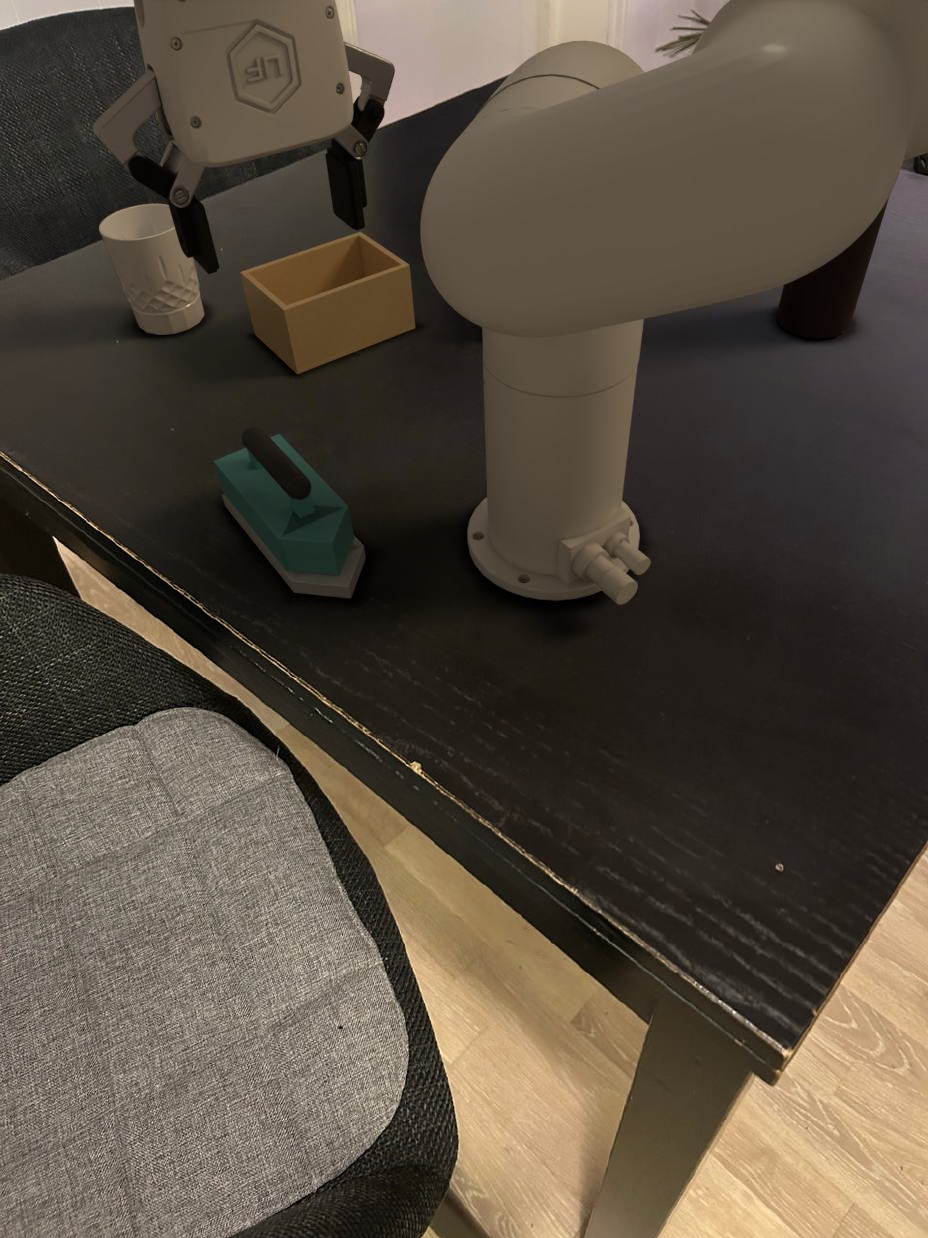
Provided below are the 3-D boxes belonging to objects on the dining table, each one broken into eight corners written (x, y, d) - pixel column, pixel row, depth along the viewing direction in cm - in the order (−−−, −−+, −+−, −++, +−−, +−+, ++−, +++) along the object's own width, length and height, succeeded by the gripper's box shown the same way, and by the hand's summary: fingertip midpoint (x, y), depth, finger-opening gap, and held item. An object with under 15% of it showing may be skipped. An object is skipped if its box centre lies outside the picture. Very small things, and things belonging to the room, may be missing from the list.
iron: (225, 506, 70) (199, 427, 64) (292, 476, 72) (273, 398, 66) (313, 617, 61) (293, 538, 55) (387, 580, 63) (374, 500, 58)
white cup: (117, 331, 89) (81, 233, 81) (162, 295, 94) (132, 199, 86) (182, 344, 87) (151, 244, 79) (225, 305, 91) (199, 208, 84)
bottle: (784, 299, 87) (838, 71, 72) (855, 311, 85) (926, 79, 70) (768, 332, 83) (822, 98, 68) (842, 346, 81) (915, 108, 66)
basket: (415, 328, 87) (409, 264, 82) (297, 374, 82) (283, 309, 77) (368, 292, 92) (360, 231, 87) (254, 334, 87) (239, 271, 82)
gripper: (46, -76, 36) (165, 309, 49) (409, -130, 42) (431, 227, 55) (5, -102, 41) (124, 258, 53) (339, -147, 46) (375, 187, 59)
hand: (279, 242), depth 54 cm, fingers open, 9 cm apart
